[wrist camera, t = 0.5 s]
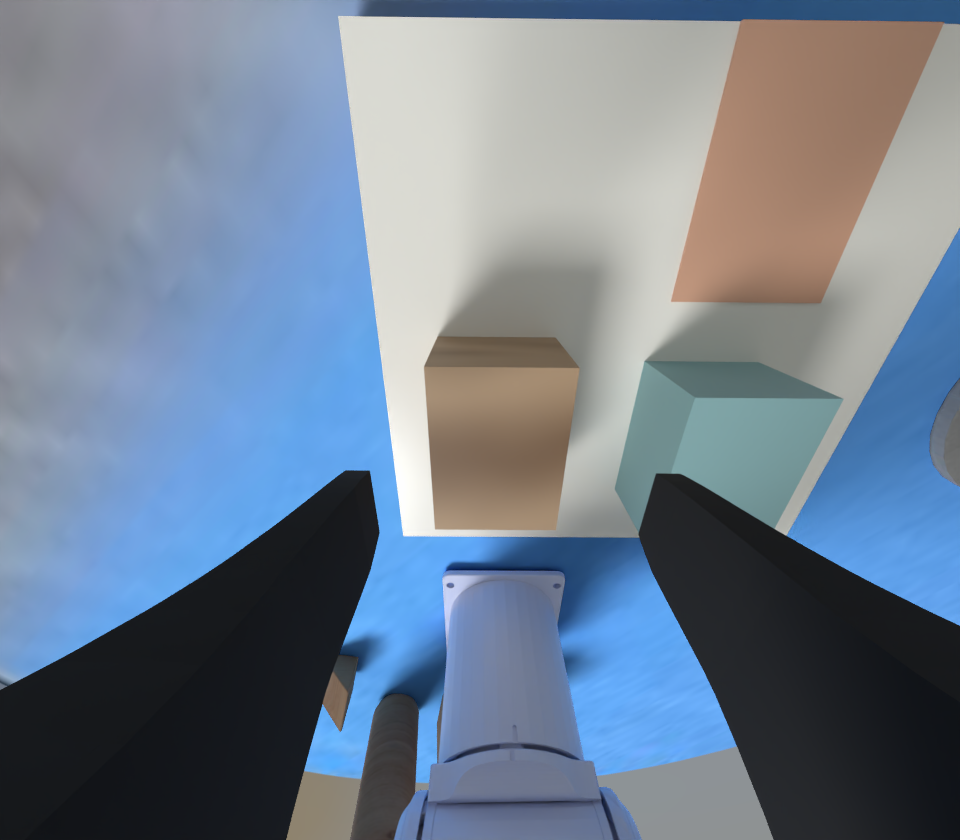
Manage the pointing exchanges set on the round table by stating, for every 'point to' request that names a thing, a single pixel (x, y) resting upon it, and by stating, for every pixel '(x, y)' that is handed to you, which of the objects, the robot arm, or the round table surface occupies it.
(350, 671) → the wooden block set
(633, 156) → the baseplate
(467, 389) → the walnut block
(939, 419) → the mate gourd
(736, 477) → the teal block
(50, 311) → the round table surface
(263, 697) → the robot arm
